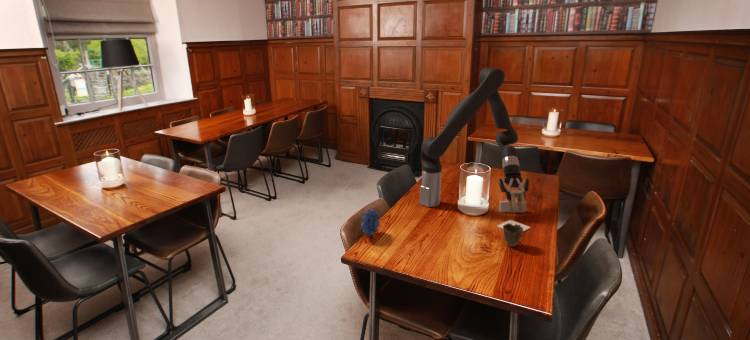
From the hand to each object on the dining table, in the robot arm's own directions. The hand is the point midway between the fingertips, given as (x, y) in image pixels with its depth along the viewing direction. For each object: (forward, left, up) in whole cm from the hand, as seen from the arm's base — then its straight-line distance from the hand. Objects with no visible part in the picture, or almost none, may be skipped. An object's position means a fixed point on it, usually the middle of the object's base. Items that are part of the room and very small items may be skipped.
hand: (516, 200), depth 182 cm
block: (+3, +3, -8) cm, 9 cm away
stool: (0, 0, -5) cm, 5 cm away
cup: (-26, -15, -8) cm, 31 cm away
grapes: (-64, +26, -8) cm, 69 cm away
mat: (-11, -7, -8) cm, 15 cm away
